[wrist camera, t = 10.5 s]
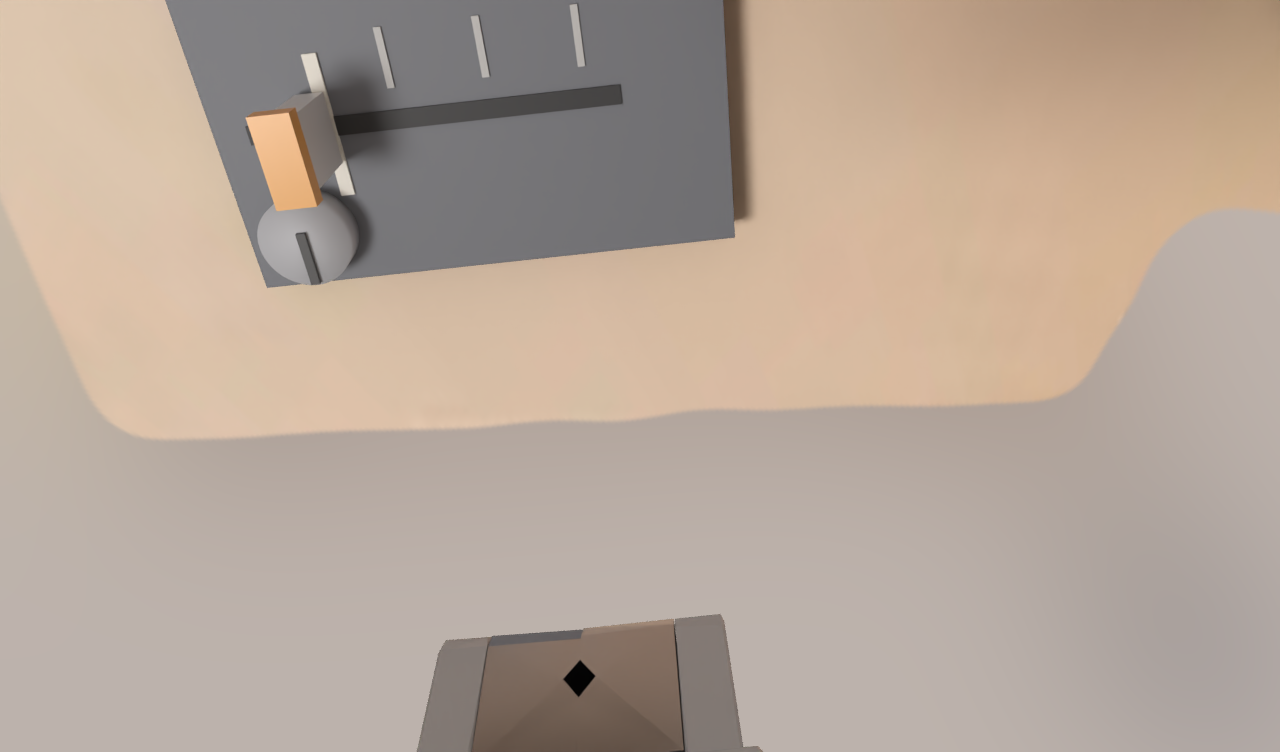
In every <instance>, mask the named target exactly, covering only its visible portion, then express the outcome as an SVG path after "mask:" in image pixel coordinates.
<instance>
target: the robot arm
mask: <svg viewBox="0 0 1280 752" xmlns="http://www.w3.org/2000/svg"><path fill="white" fill-rule="evenodd" d="M675 630H676V633H675ZM676 641H677V642H676ZM417 752H763V751H762V750H761V749H760V748H759V747H758V746H753V747H743V742H742V736H741V729H740V722H739V716H738V709H737V703H736V696H735V690H734V683H733V677H732V670H731V663H730V657H729V650H728V643H727V637H726V630H725V624H724V620H723V618H722V616H721V615H720V614H718V615H707V616H698V617H689V618H679V619H675V625H674V619H667V620H658V621H649V622H640V623H631V624H622V625H612V626H603V627H593V628H584V629H583V630H571V631H558V632H544V633H529V634H515V635H501V636H492V637H485V638H471V639H457V640H446V641H445V643H444V645H443V646H442V648H441V650H440V652H439V653H438V658H437V662H436V667H435V671H434V676H433V680H432V685H431V689H430V694H429V699H428V704H427V708H426V712H425V717H424V722H423V726H422V731H421V735H420V740H419V744H418V749H417Z"/></svg>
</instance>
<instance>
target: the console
mask: <svg viewBox="0 0 1280 752" xmlns="http://www.w3.org/2000/svg"><path fill="white" fill-rule="evenodd" d="M165 1H166V4H167V7H168V9H169V12H170V15H171V18H172V21H173V24H174V26H175V29H176V32H177V35H178V38H179V40H180V43H181V46H182V49H183V52H184V55H185V57H186V60H187V63H188V66H189V69H190V71H191V74H192V77H193V80H194V83H195V86H196V88H197V91H198V94H199V97H200V100H201V103H202V105H203V108H204V111H205V114H206V117H207V119H208V122H209V125H210V128H211V131H212V134H213V136H214V139H215V142H216V145H217V148H218V150H219V153H220V156H221V159H222V162H223V165H224V167H225V170H226V173H227V176H228V179H229V182H230V184H231V187H232V190H233V193H234V196H235V198H236V201H237V204H238V207H239V210H240V213H241V215H242V218H243V221H244V224H245V227H246V229H247V232H248V235H249V238H250V241H251V244H252V246H253V249H254V252H255V255H256V258H257V261H258V263H259V266H260V269H261V272H262V275H263V277H264V280H265V283H266V286H267V288H270V287H279V286H288V285H297V284H306V285H319V284H324V283H327V282H330V281H335V280H344V279H353V278H363V277H372V276H381V275H390V274H400V273H409V272H418V271H428V270H437V269H446V268H456V267H465V266H474V265H484V264H493V263H502V262H511V261H521V260H530V259H539V258H549V257H558V256H567V255H577V254H586V253H595V252H605V251H614V250H623V249H632V248H642V247H651V246H660V245H670V244H679V243H688V242H698V241H707V240H716V239H726V238H735V230H734V210H733V190H732V169H731V149H730V129H729V109H728V89H727V69H726V49H725V29H724V8H723V0H165ZM316 92H323V94H324V98H325V101H326V105H327V108H328V112H329V115H330V119H331V122H332V126H333V129H334V133H335V137H336V140H337V144H338V147H339V151H340V154H341V158H342V161H343V163H342V164H341V165H340V166H339V168H338V169H337V170H336V171H335V172H334V173H333V174H332V175H331V177H330V178H329V179H328V180H327V181H326V182H325V183H324V184H323V186H322V187H321V188H320V191H321V194H322V198H323V201H322V202H321V203H320V204H319V205H318V206H317V207H310V208H301V209H292V210H283V211H276V208H275V205H274V202H273V199H272V196H271V193H270V190H269V187H268V184H267V181H266V178H265V175H264V172H263V169H262V166H261V163H260V160H259V157H258V154H257V151H256V148H255V145H254V142H253V139H252V136H251V133H250V130H249V127H248V124H247V121H246V117H247V116H249V115H250V114H251V113H253V112H259V111H268V110H275V109H276V108H277V107H279V106H280V105H282V104H283V103H284V102H286V101H287V100H288V99H290V98H291V97H292V96H294V95H299V94H307V93H316Z"/></svg>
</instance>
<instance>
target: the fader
mask: <svg viewBox="0 0 1280 752" xmlns="http://www.w3.org/2000/svg"><path fill="white" fill-rule="evenodd" d="M246 121H247V124H248V127H249V130H250V133H251V136H252V139H253V142H254V145H255V148H256V151H257V154H258V157H259V160H260V163H261V166H262V169H263V172H264V175H265V178H266V181H267V184H268V187H269V190H270V193H271V196H272V199H273V202H274V205H275V208H276V211H283V210H292V209H301V208H310V207H317V206H318V205H319V204H320V203H321V202H322V201H323V198H322V194H321V191H320V188H321V187H322V186H323V184H324V183H325V182H326V181H327V180H328V179H329V178H330V177H331V175H332V174H333V173H334V172H335V171H336V170H337V169H338V168H339V166H340V165H341V164H342V163H343V161H342V158H341V154H340V151H339V147H338V144H337V140H336V137H335V133H334V129H333V126H332V122H331V119H330V115H329V112H328V108H327V105H326V101H325V98H324V94H323V92H316V93H307V94H299V95H294V96H292V97H291V98H290V99H288V100H287V101H286V102H284V103H283V104H282V105H280V106H279V107H277V108H276V109H275V110H268V111H259V112H253V113H251V114H250V115H249V116H247V117H246Z"/></svg>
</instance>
